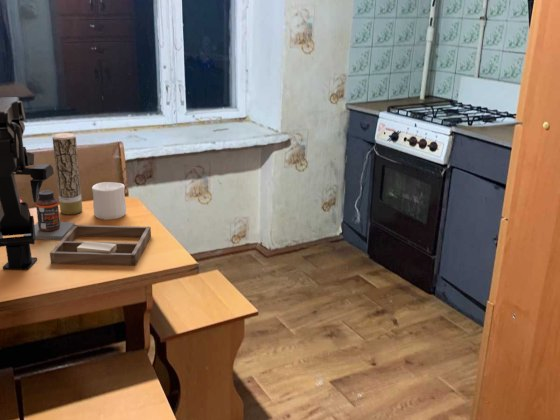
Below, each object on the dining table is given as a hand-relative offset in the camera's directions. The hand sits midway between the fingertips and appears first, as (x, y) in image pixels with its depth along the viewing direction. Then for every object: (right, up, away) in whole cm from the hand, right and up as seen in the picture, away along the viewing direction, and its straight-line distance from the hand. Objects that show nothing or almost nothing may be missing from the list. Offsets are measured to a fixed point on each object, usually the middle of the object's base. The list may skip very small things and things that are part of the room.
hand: (18, 201), depth 160 cm
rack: (+22, -13, +4) cm, 26 cm away
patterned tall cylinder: (+4, -3, +31) cm, 31 cm away
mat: (+3, -9, +14) cm, 17 cm away
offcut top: (+22, -13, -3) cm, 26 cm away
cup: (+17, -4, +29) cm, 34 cm away
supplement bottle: (+3, -8, +14) cm, 16 cm away
